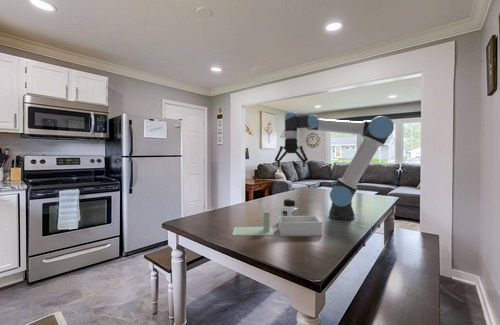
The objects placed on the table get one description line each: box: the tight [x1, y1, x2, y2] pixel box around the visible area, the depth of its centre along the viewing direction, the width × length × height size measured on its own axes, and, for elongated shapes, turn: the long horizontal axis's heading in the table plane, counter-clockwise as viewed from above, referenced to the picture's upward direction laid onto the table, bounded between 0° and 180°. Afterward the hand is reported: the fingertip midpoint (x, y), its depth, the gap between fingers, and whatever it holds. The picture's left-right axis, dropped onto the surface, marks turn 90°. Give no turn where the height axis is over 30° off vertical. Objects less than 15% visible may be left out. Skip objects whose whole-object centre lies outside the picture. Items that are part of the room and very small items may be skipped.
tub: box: [278, 215, 323, 238], centre depth 125 cm, size 20×12×7 cm, turn 89°
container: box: [280, 198, 299, 216], centre depth 146 cm, size 8×8×13 cm
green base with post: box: [231, 210, 275, 237], centre depth 128 cm, size 21×13×11 cm, turn 90°
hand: (291, 172), depth 151 cm, fingers open, 13 cm apart
